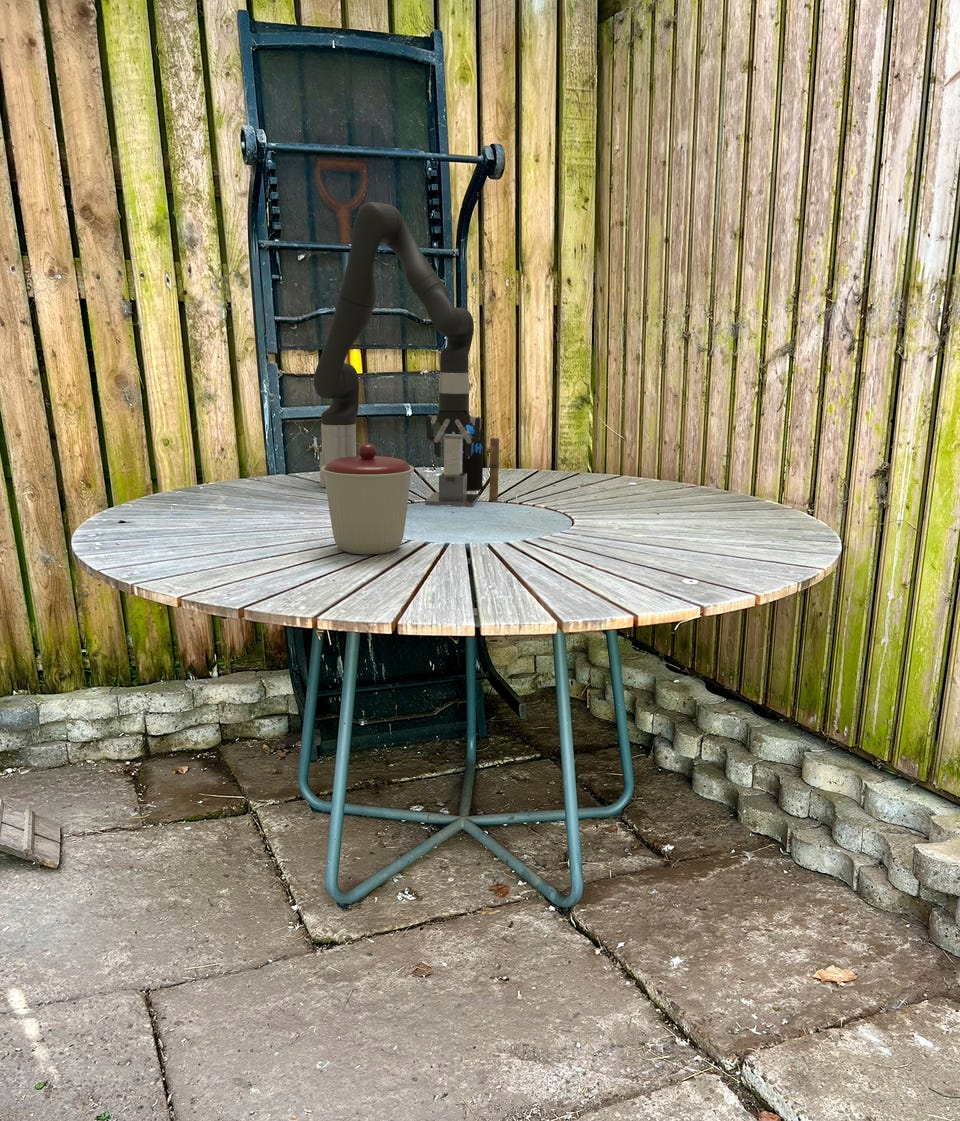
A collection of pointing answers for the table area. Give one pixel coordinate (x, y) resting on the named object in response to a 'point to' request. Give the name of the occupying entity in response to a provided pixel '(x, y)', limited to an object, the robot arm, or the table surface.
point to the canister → (367, 501)
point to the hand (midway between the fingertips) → (453, 457)
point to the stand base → (452, 492)
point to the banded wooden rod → (494, 469)
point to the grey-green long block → (453, 454)
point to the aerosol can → (473, 460)
